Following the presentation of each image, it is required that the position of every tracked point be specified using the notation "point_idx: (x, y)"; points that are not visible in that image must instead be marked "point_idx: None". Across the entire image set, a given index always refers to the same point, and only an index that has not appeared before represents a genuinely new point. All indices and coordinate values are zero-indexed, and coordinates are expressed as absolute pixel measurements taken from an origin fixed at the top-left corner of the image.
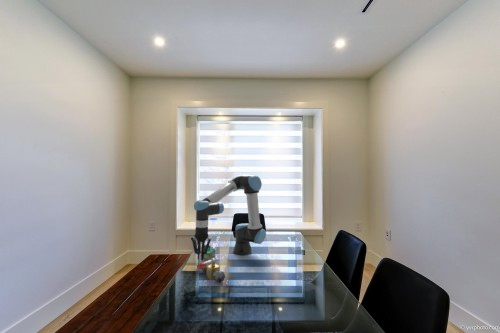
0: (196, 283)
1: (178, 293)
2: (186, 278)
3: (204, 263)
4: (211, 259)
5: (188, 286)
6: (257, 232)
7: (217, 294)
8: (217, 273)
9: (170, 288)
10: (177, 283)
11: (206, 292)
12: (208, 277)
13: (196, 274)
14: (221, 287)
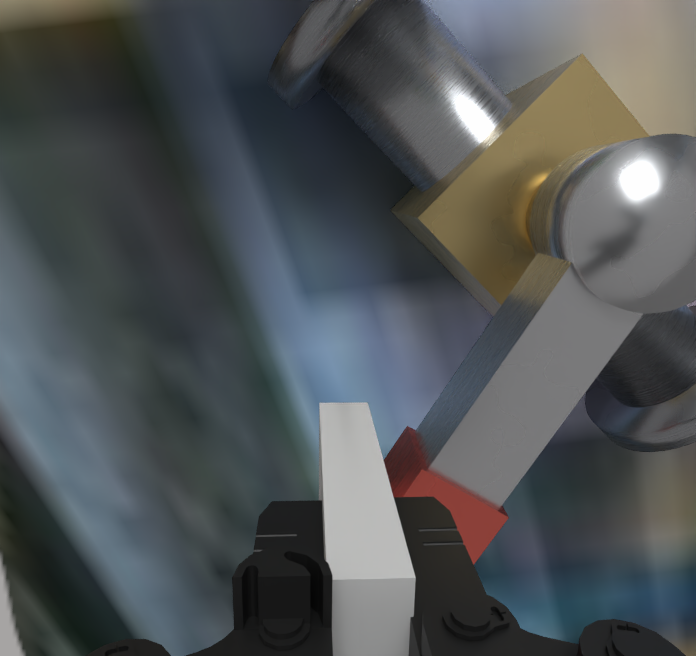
0: (305, 413)
1: (181, 640)
2: (100, 297)
3: (473, 539)
4: (613, 273)
5: (230, 494)
6: None
7: (626, 601)
8: (671, 433)
9: (26, 564)
10: (46, 445)
11: (494, 583)
12: (436, 257)
13: (199, 146)
14: (656, 463)
